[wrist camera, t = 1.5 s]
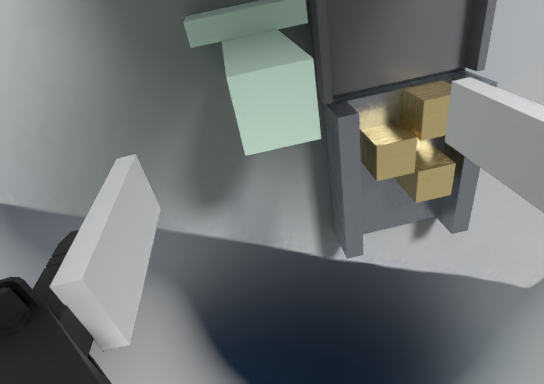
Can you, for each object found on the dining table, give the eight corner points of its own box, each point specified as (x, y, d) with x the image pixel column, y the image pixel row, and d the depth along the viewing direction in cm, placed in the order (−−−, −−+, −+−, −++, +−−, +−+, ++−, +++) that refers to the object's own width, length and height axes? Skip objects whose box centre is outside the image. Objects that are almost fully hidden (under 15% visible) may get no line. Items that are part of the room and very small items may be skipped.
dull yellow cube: (403, 88, 34) (424, 100, 30) (441, 80, 34) (466, 91, 30) (401, 125, 36) (420, 140, 32) (437, 117, 36) (460, 131, 33)
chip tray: (304, -45, 28) (311, -47, 26) (490, -84, 28) (512, -89, 26) (318, 97, 34) (324, 104, 32) (468, 63, 35) (484, 69, 33)
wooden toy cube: (361, 130, 35) (376, 146, 32) (398, 122, 36) (417, 137, 32) (362, 163, 38) (376, 181, 34) (396, 155, 38) (414, 172, 34)
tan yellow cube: (400, 154, 38) (418, 171, 34) (434, 146, 38) (455, 163, 35) (398, 184, 40) (415, 203, 37) (431, 176, 40) (450, 194, 37)
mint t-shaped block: (187, 15, 29) (165, 49, 15) (291, -7, 29) (359, 7, 16) (207, 87, 32) (203, 165, 19) (300, 66, 32) (362, 129, 19)
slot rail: (322, 100, 35) (337, 117, 30) (463, 69, 35) (497, 82, 31) (334, 232, 45) (347, 258, 40) (443, 206, 45) (467, 230, 41)
